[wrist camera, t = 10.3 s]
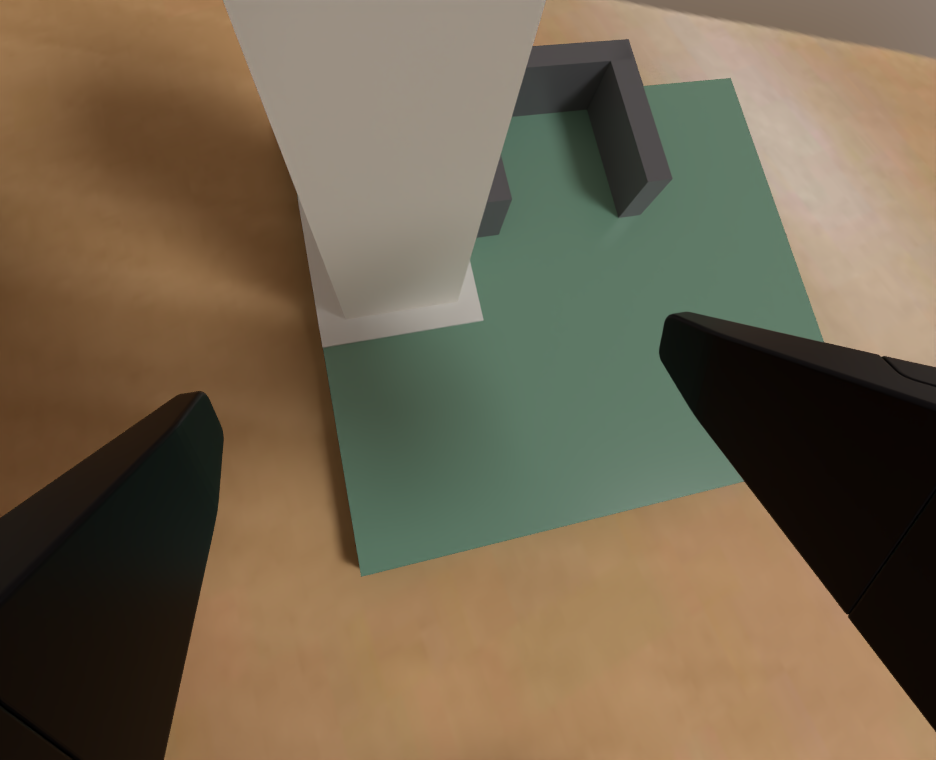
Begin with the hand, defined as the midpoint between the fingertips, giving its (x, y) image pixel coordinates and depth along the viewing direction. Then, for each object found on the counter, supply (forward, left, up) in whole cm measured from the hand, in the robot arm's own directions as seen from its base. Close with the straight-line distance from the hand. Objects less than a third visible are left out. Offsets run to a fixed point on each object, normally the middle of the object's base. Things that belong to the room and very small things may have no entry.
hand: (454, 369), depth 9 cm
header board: (+7, -2, -9) cm, 12 cm away
